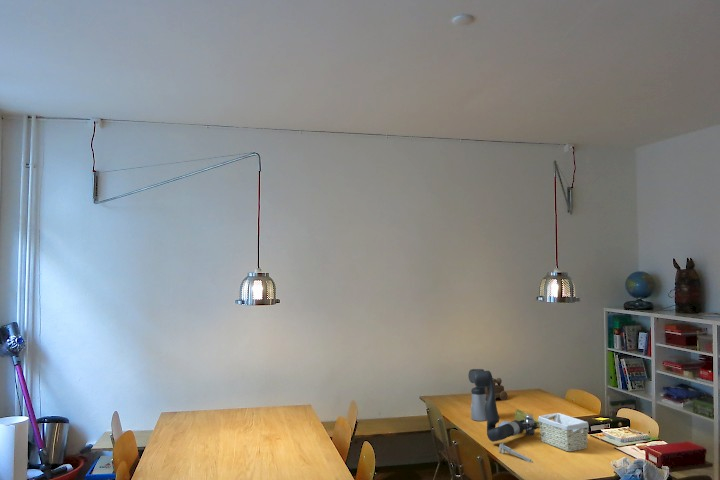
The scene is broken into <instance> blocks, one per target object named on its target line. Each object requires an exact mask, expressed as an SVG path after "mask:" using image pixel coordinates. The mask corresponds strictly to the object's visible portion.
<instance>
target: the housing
mask: <svg viewBox="0 0 720 480" xmlns="http://www.w3.org/2000/svg"><path fill="white" fill-rule="evenodd" d="M533 418H534V417H533V414H528V415H526V418H525V423H529V424H532V423H534V419H535V418H534V419H533ZM530 426H531V425H530ZM527 427H528V424H527ZM524 431H525V435H527V436H534V435H535V429H534V430H531V431H529V430H528V429H526V430H524Z"/></svg>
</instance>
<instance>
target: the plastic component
mask: <svg viewBox="0 0 720 480" xmlns="http://www.w3.org/2000/svg"><path fill="white" fill-rule="evenodd" d="M526 415H529V414H528V413H527V412H525V411H523V410H520V409H518V408H516V409H515V411H514V420H519V421H521V420H525V418H526ZM533 419H534V423H537V426H536V428H540V425H539V421H538V419H536V418H534V417H533Z"/></svg>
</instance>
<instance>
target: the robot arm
mask: <svg viewBox="0 0 720 480" xmlns="http://www.w3.org/2000/svg"><path fill="white" fill-rule="evenodd" d="M468 379H469V382H470V383H472V384H474V385H475V387H473V388H471V391H470V392H471V404H470V418H471V420H473V421H476V422H484V421H485V422H486V435H487V438H488V440H489V441H491V442H498V441H502V440H504V439H505V440H506V439H507V438H511V437H515V436H517V435H519V434H523V432H524V431H525V430H526V429H528V430H529V431H531V430H534V431H535V430H536V429H537V427H536V426H537V423H532V424H529V423H525V420H521V421H519V420H515V419H513V420H512V421H509V422H510V423H508V424H505V425H502V426H500V427H498V426H497V425H498V423H499V422H500V417H499V412H498V408H497V401H496V400H495V391H494V384H493V375H492V372H491V371H490V370H485V369H483V368H473V369H470V370H469V371H468ZM485 387H489V395H488V398H487V399H486V395H485ZM527 424H528V427H527ZM530 425H531V426H530ZM496 426H497V427H496Z"/></svg>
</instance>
